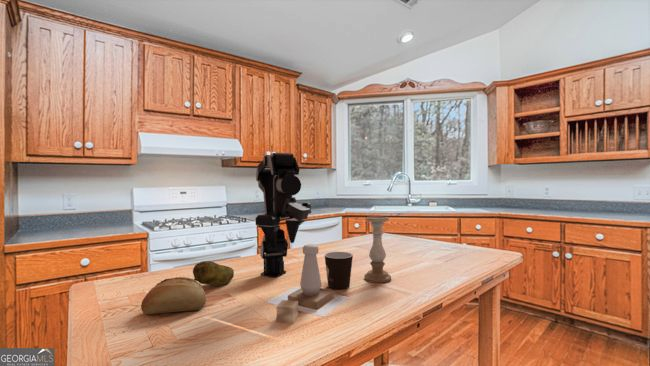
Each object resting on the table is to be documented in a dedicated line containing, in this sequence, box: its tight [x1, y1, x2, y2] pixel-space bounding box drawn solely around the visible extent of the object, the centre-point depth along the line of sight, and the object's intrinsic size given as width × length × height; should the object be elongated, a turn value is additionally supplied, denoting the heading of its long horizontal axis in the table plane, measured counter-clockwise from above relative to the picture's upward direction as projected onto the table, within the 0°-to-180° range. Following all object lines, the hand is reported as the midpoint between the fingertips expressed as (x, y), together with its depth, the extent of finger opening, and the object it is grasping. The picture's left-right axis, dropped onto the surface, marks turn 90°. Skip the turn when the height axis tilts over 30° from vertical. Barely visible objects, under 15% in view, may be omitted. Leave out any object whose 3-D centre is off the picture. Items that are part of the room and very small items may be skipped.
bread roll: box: [140, 276, 207, 315], centre depth 80 cm, size 10×15×8 cm, turn 110°
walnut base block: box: [288, 287, 335, 310], centre depth 84 cm, size 9×9×2 cm
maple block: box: [276, 300, 299, 324], centre depth 73 cm, size 4×4×4 cm
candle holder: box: [363, 215, 392, 284], centre depth 103 cm, size 9×9×20 cm
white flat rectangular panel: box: [264, 286, 350, 317], centre depth 85 cm, size 18×14×1 cm
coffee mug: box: [324, 251, 353, 291], centre depth 97 cm, size 12×9×10 cm
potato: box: [192, 260, 235, 287], centre depth 99 cm, size 8×13×8 cm, turn 120°
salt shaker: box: [299, 243, 322, 296], centre depth 84 cm, size 6×6×13 cm
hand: (283, 245), depth 95 cm, fingers open, 9 cm apart
